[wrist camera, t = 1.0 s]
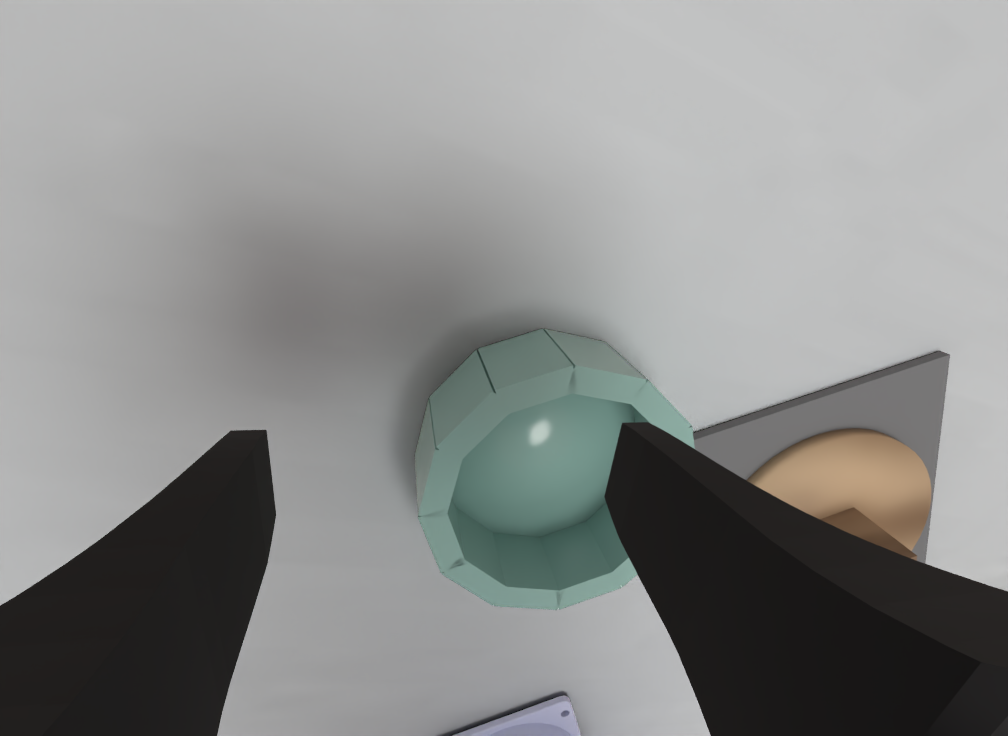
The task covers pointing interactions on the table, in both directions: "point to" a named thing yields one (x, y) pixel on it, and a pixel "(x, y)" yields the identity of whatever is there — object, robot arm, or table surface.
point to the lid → (854, 485)
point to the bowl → (532, 468)
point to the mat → (843, 420)
